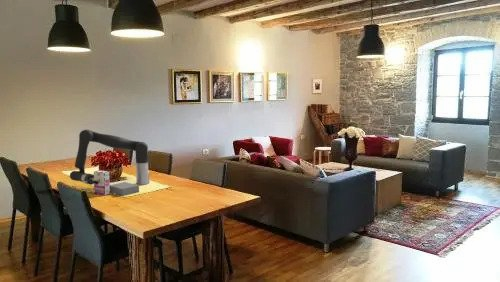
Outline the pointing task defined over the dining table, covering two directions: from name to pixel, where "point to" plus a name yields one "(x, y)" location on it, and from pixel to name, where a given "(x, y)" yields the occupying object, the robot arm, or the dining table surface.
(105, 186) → the candy bar box
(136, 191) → the charcoal plinth
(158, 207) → the dining table surface
